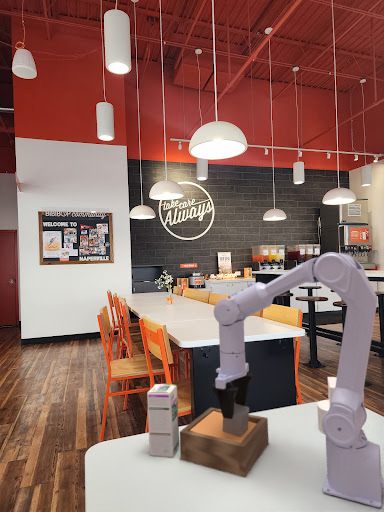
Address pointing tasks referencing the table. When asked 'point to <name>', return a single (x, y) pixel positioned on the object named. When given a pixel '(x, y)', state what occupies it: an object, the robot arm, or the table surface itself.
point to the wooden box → (224, 447)
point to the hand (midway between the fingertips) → (234, 411)
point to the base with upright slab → (326, 402)
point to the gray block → (237, 421)
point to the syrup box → (163, 420)
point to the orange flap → (218, 427)
